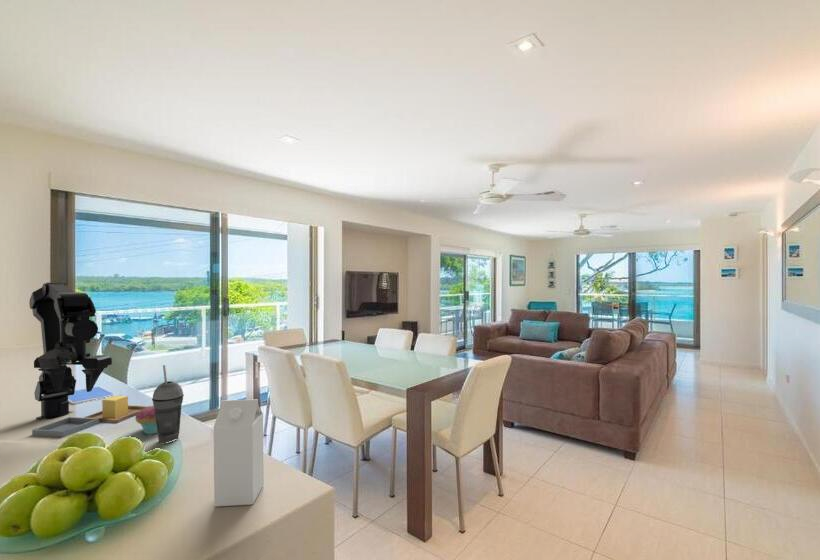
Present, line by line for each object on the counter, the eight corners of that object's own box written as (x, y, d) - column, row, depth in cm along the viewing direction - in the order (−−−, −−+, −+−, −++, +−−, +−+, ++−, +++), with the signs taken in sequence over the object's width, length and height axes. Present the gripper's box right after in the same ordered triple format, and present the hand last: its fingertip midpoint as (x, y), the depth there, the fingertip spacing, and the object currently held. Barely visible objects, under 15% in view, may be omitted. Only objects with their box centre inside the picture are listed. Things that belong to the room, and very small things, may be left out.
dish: (32, 437, 108) (32, 429, 108) (70, 423, 118) (69, 416, 118) (63, 439, 106) (63, 431, 106) (99, 425, 116) (99, 418, 116)
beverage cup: (169, 447, 101) (168, 369, 101) (145, 444, 102) (144, 368, 102) (190, 435, 108) (189, 363, 108) (167, 433, 109) (167, 362, 109)
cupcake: (178, 427, 114) (178, 386, 114) (150, 438, 106) (150, 394, 106) (156, 424, 117) (156, 383, 117) (128, 435, 109) (127, 391, 109)
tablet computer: (58, 396, 148) (58, 393, 148) (100, 388, 158) (100, 385, 158) (72, 406, 136) (72, 402, 136) (116, 397, 146) (116, 393, 146)
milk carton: (228, 487, 81) (227, 395, 81) (263, 485, 82) (262, 394, 81) (214, 507, 74) (213, 406, 74) (253, 505, 74) (252, 405, 74)
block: (102, 417, 121) (102, 399, 121) (115, 412, 125) (115, 395, 125) (115, 418, 120) (114, 400, 120) (127, 413, 125) (127, 396, 125)
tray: (82, 422, 119) (82, 417, 119) (118, 409, 131) (118, 404, 131) (117, 424, 117) (117, 420, 117) (151, 410, 129) (151, 406, 129)
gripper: (12, 341, 105) (13, 399, 106) (79, 342, 104) (79, 401, 104) (52, 335, 116) (53, 387, 117) (113, 335, 115) (113, 388, 116)
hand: (73, 391), depth 113 cm, fingers open, 9 cm apart
